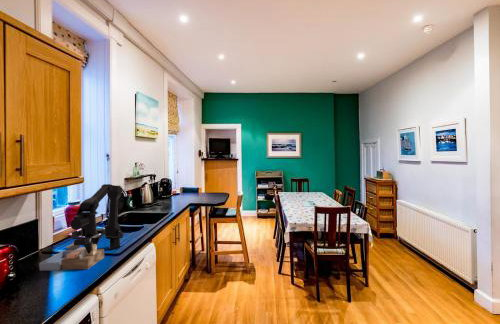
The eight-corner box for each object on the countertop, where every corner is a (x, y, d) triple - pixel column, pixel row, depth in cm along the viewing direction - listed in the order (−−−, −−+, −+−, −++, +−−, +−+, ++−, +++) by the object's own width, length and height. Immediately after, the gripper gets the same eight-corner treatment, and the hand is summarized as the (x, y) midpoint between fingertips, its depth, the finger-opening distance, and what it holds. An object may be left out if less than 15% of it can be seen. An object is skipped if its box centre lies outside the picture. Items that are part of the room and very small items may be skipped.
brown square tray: (80, 257, 145) (80, 249, 144) (104, 257, 144) (103, 248, 144) (61, 269, 131) (61, 260, 130) (88, 269, 130) (87, 259, 130)
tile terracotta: (72, 255, 137) (72, 251, 136) (81, 254, 136) (80, 251, 136) (66, 258, 132) (66, 254, 132) (75, 258, 132) (74, 254, 132)
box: (63, 257, 146) (62, 250, 146) (81, 257, 146) (80, 250, 145) (39, 270, 130) (39, 263, 130) (59, 270, 130) (59, 262, 129)
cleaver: (66, 256, 148) (66, 253, 147) (48, 258, 146) (48, 254, 146) (91, 239, 177) (91, 236, 177) (76, 240, 175) (76, 237, 175)
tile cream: (80, 250, 143) (80, 247, 142) (88, 250, 142) (88, 247, 142) (74, 253, 138) (74, 250, 138) (82, 253, 138) (82, 250, 138)
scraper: (93, 249, 143) (93, 241, 143) (101, 249, 143) (101, 241, 143) (78, 259, 131) (78, 249, 131) (87, 258, 131) (87, 249, 131)
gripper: (86, 219, 146) (88, 245, 147) (62, 229, 127) (64, 259, 128) (105, 219, 146) (107, 245, 146) (83, 229, 127) (85, 259, 128)
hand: (91, 251), depth 137 cm, fingers open, 4 cm apart
